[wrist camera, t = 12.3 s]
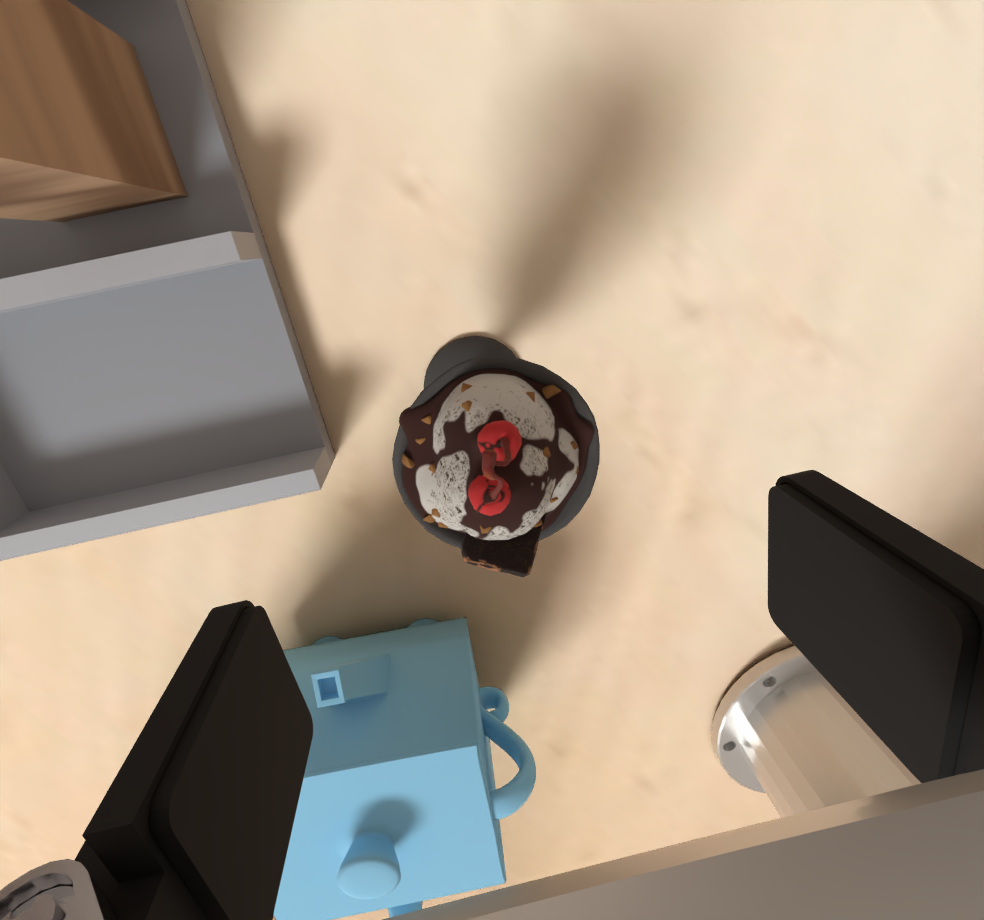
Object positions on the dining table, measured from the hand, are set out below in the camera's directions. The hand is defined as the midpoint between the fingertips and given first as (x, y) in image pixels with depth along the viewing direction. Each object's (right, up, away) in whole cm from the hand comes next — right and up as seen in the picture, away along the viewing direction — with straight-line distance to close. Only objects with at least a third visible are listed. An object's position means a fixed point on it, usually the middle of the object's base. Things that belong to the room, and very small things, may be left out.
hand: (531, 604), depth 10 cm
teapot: (-7, -11, +23) cm, 27 cm away
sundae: (-2, +6, +17) cm, 18 cm away
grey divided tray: (-18, +10, +13) cm, 25 cm away
